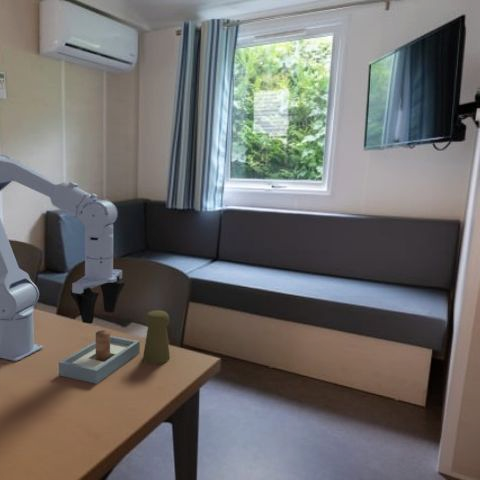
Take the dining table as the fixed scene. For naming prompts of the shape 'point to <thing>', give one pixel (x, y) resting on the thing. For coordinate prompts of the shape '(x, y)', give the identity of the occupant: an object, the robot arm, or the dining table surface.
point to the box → (93, 370)
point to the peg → (102, 345)
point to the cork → (156, 338)
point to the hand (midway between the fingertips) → (98, 317)
